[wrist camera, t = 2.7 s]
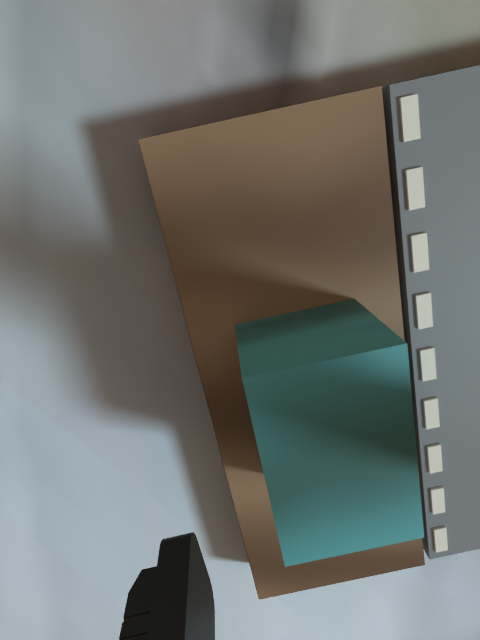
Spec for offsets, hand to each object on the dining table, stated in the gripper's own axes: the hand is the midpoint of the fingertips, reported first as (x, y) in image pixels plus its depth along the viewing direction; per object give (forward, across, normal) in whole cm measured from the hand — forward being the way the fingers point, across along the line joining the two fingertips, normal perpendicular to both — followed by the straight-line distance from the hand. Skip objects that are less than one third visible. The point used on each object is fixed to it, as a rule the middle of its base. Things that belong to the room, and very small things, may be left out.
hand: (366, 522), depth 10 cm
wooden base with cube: (+7, 0, -1) cm, 7 cm away
